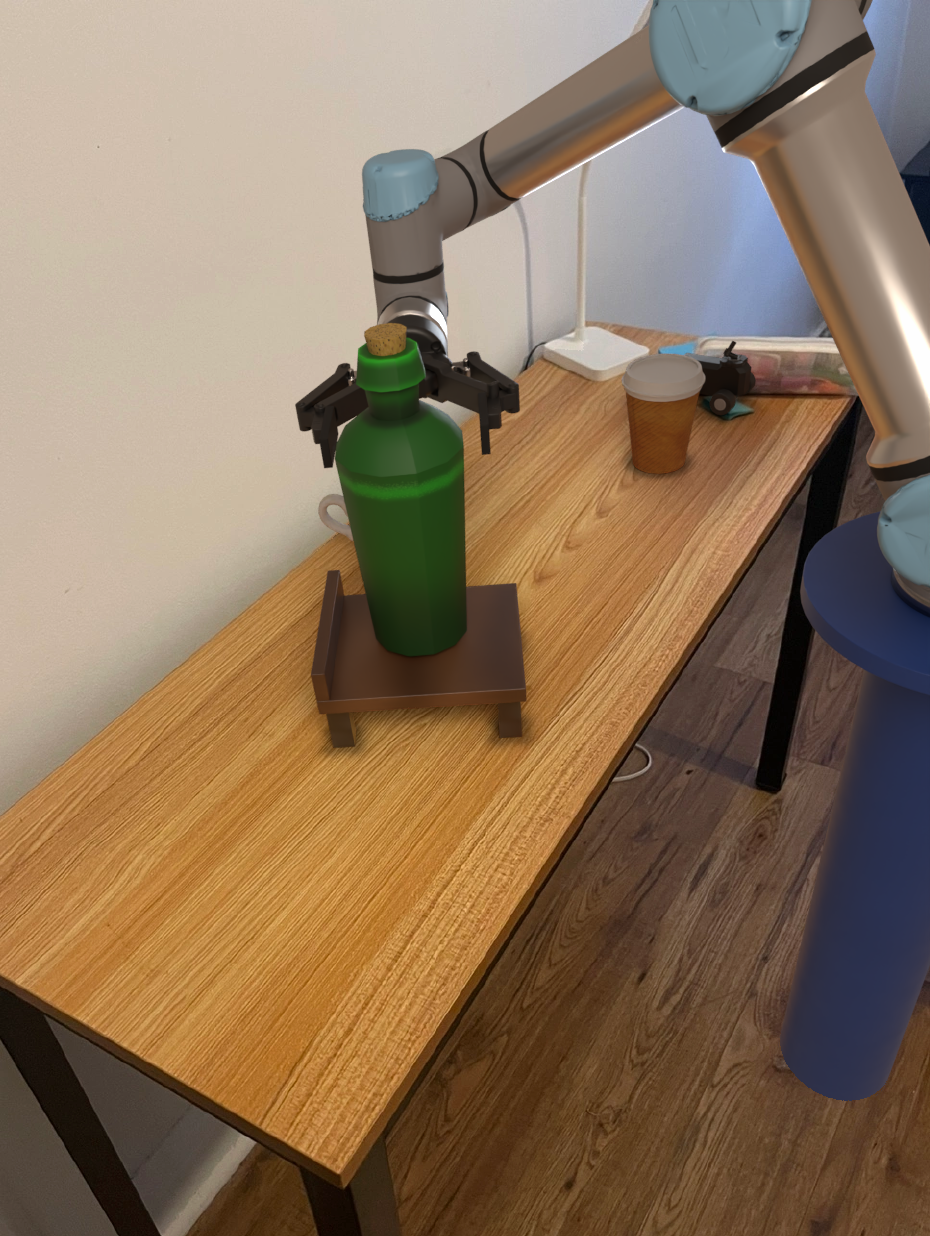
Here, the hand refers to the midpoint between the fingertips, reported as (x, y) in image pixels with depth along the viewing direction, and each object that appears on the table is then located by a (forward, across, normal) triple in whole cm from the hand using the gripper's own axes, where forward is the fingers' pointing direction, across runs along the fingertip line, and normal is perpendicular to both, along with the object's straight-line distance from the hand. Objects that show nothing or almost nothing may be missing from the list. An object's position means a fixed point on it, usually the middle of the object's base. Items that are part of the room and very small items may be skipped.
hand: (405, 447), depth 86 cm
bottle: (+4, 0, -17) cm, 17 cm away
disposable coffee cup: (-36, -28, -23) cm, 51 cm away
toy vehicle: (-53, -35, -23) cm, 67 cm away
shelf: (+5, 0, -23) cm, 23 cm away
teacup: (-20, +5, -23) cm, 31 cm away
